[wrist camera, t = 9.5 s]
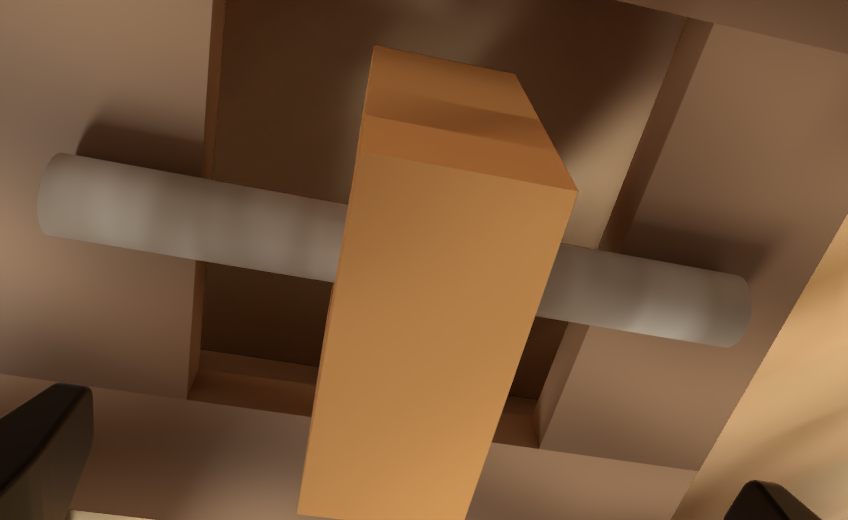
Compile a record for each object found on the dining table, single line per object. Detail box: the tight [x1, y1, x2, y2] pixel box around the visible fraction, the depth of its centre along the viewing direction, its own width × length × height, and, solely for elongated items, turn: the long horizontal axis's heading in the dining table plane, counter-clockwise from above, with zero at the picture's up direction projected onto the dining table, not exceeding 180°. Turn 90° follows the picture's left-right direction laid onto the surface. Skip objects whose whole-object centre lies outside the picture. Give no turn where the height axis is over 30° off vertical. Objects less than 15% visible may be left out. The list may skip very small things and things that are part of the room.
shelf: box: [0, 0, 848, 520], centre depth 17 cm, size 20×18×7 cm
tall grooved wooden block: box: [297, 45, 578, 520], centre depth 14 cm, size 7×3×6 cm, turn 168°
